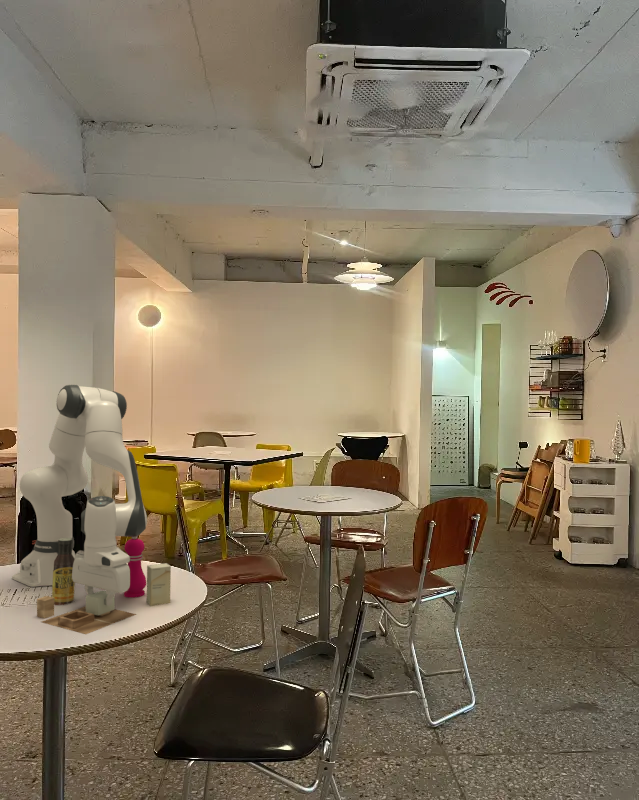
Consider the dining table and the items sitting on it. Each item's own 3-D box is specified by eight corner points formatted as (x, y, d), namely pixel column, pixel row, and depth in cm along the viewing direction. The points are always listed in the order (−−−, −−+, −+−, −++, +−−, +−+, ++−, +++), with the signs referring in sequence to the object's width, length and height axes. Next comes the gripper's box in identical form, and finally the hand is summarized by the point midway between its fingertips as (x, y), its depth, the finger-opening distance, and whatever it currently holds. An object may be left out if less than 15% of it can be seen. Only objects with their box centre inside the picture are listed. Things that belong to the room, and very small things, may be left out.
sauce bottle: (53, 609, 195) (53, 542, 194) (50, 603, 200) (50, 538, 200) (76, 606, 198) (76, 540, 197) (73, 600, 203) (73, 536, 203)
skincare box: (150, 609, 195) (150, 568, 195) (146, 605, 199) (146, 565, 199) (171, 606, 198) (171, 565, 198) (166, 602, 202) (166, 562, 202)
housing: (85, 612, 187) (85, 595, 187) (102, 606, 192) (102, 590, 192) (98, 615, 185) (97, 598, 185) (114, 609, 190) (114, 592, 190)
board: (40, 625, 181) (40, 609, 181) (92, 607, 197) (92, 592, 197) (85, 638, 172) (85, 620, 172) (136, 617, 188) (136, 601, 188)
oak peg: (36, 620, 186) (36, 598, 186) (46, 616, 188) (46, 595, 188) (44, 622, 184) (44, 600, 184) (54, 618, 187) (54, 597, 187)
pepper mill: (139, 602, 202) (139, 536, 202) (118, 600, 203) (118, 535, 203) (150, 594, 209) (150, 531, 209) (129, 593, 211) (129, 530, 210)
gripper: (66, 551, 191) (66, 599, 191) (116, 562, 180) (116, 612, 181) (84, 547, 196) (83, 593, 196) (134, 557, 186) (133, 606, 186)
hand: (99, 602), depth 189 cm, fingers open, 5 cm apart
